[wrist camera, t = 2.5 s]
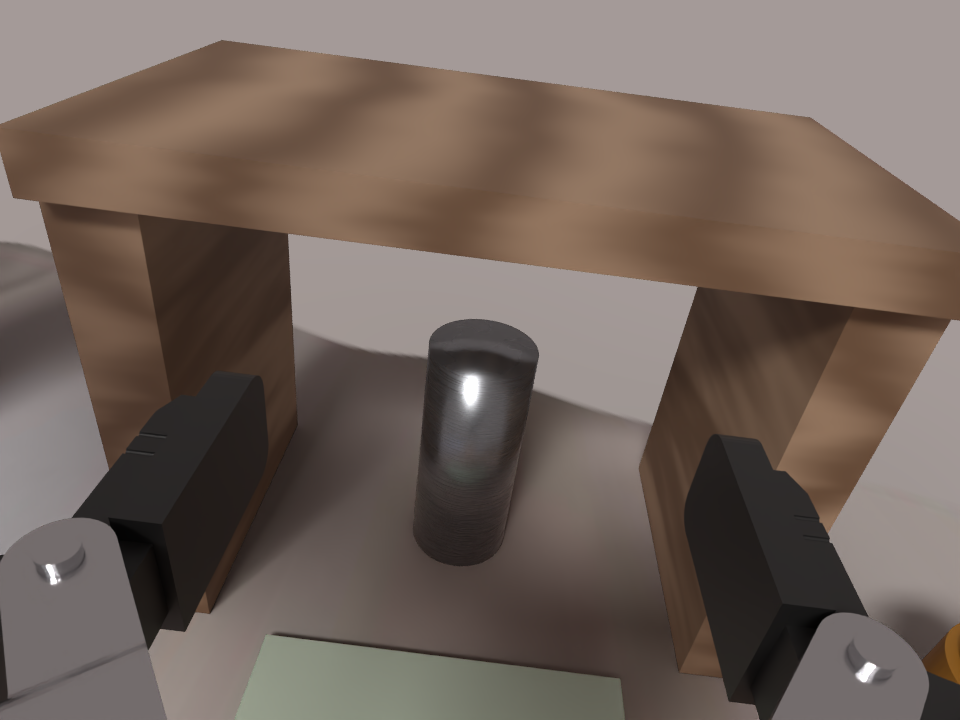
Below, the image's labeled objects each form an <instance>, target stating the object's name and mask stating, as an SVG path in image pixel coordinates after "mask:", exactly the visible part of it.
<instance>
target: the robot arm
mask: <svg viewBox="0 0 960 720" xmlns="http://www.w3.org/2000/svg"><path fill="white" fill-rule="evenodd" d="M268 447H269V443H268V430H267V418H266V407H265V395H264V385H263V381H262V378H261V377H260V376H258V375H250V374H242V373H234V372H226V371H215V372H214V373H213V374H212V375H211V376H210V377H209V379H208V380H207V382H206V383H205V384H204V386H203V387H202V388H201V390H200V391H199V393H198V394H197V395H196V396H188V395H180V396H179V397H177V398H176V399H174V400H172V401H171V402H169V403H168V404H166V405H165V406H163V407H161V408H160V409H158V410H157V411H155V413H154V414H153V415H152V416H151V418H150V419H149V420H148V421H147V423H146V424H145V425H144V427H143V428H142V429H141V430H140V432H139V436H136V437H135V438H134V439H133V441H132V442H131V443H130V444H129V446H128V447H127V448H126V452H125V454H124V453H122V455H121V456H120V457H119V458H118V460H117V461H116V462H115V463H114V465H113V466H112V467H111V469H110V470H109V471H108V472H107V474H106V475H105V476H104V477H103V479H102V480H101V481H100V482H99V484H98V485H97V486H96V488H95V489H94V490H93V491H92V493H91V494H90V495H89V496H88V498H87V499H86V500H85V502H84V503H83V504H82V505H81V507H80V508H79V509H78V510H77V512H76V513H75V514H74V516H73V517H72V518H70V519H63V520H59V521H55V522H52V523H49V524H46V525H43V526H41V527H39V528H37V529H35V530H33V531H31V532H30V533H28V534H26V535H25V536H23V537H22V538H21V539H19V540H18V541H17V542H16V543H15V544H13V545H12V546H11V547H10V548H9V550H8V551H7V552H6V553H5V555H0V720H167V718H166V715H165V711H164V707H163V704H162V700H161V696H160V693H159V689H158V685H157V682H156V678H155V674H154V671H153V667H152V663H151V660H150V656H149V652H148V650H149V648H150V646H151V645H152V643H153V641H154V639H155V637H156V635H157V633H158V632H159V630H160V629H166V630H174V631H183V632H185V631H186V629H187V627H188V625H189V623H190V621H191V619H192V617H193V615H194V613H195V611H196V609H197V607H198V605H199V603H200V601H201V599H202V597H203V595H204V593H205V591H206V589H207V587H208V585H209V583H210V581H211V579H212V577H213V575H214V573H215V571H216V569H217V567H218V565H219V563H220V561H221V559H222V557H223V555H224V552H225V550H226V548H227V546H228V544H229V542H230V540H231V538H232V536H233V534H234V532H235V530H236V528H237V526H238V524H239V522H240V520H241V518H242V516H243V514H244V512H245V510H246V508H247V506H248V504H249V502H250V500H251V498H252V496H253V494H254V492H255V490H256V488H257V486H258V484H259V482H260V480H261V478H262V476H263V473H264V470H265V467H266V462H267V457H268ZM819 519H820V517H819V515H818V513H817V511H816V509H815V507H814V505H813V503H812V501H811V499H810V497H809V495H808V493H807V492H806V491H805V490H804V489H803V488H802V487H801V486H800V485H799V484H798V483H797V482H796V481H795V480H794V479H793V478H792V477H791V476H790V475H789V474H788V473H787V472H786V471H779V470H773V468H772V466H771V464H770V461H769V459H768V457H767V455H766V452H765V450H764V448H763V446H762V444H761V442H760V441H759V440H757V439H753V438H745V437H737V436H729V435H721V434H713V435H712V436H711V437H710V438H709V440H708V442H707V444H706V447H705V449H704V452H703V455H702V457H701V460H700V462H699V465H698V468H697V470H696V473H695V476H694V478H693V481H692V484H691V486H690V489H689V492H688V494H687V498H686V502H685V508H684V527H685V532H686V536H687V540H688V544H689V548H690V552H691V556H692V560H693V564H694V567H695V571H696V575H697V579H698V583H699V587H700V591H701V595H702V599H703V603H704V606H705V610H706V614H707V618H708V622H709V626H710V630H711V634H712V638H713V642H714V646H715V649H716V653H717V657H718V661H719V665H720V669H721V673H722V677H723V681H724V685H725V688H726V692H727V696H728V700H729V702H737V703H745V704H753V705H756V708H757V712H758V715H759V719H760V720H960V684H957V683H955V682H952V681H949V680H947V679H944V678H942V677H939V676H937V675H935V674H932V673H930V672H928V671H926V669H925V667H924V665H923V663H922V661H921V660H920V658H919V657H918V655H917V654H916V652H915V651H914V650H913V649H912V648H911V646H910V645H909V644H908V643H907V642H906V641H905V640H904V639H903V638H901V637H900V636H899V635H898V634H896V633H895V632H894V631H893V630H891V629H889V628H888V627H886V626H885V625H883V624H881V623H879V622H877V621H876V620H873V619H871V618H869V617H868V615H867V613H866V611H865V609H864V607H863V605H862V603H861V601H860V599H859V597H858V595H857V592H856V590H855V588H854V586H853V584H852V582H851V580H850V578H849V576H848V574H847V572H846V570H845V568H844V566H843V564H842V562H841V560H840V558H839V556H838V554H837V552H836V550H835V548H834V546H833V544H832V543H830V542H829V539H830V538H829V536H828V534H827V532H826V530H825V527H824V525H823V523H820V522H819Z"/></svg>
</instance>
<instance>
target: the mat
mask: <svg viewBox="0 0 960 720" xmlns="http://www.w3.org/2000/svg"><path fill="white" fill-rule="evenodd" d="M234 720H625V715H624V706H623V698H622V689H621V681H620V679H619V678H611V677H603V676H595V675H587V674H579V673H571V672H563V671H555V670H547V669H539V668H531V667H523V666H515V665H507V664H499V663H491V662H483V661H475V660H467V659H459V658H451V657H443V656H435V655H427V654H419V653H411V652H403V651H395V650H387V649H379V648H371V647H363V646H355V645H347V644H339V643H331V642H323V641H315V640H307V639H299V638H291V637H283V636H275V635H267V634H266V636H265V638H264V641H263V644H262V646H261V649H260V652H259V655H258V657H257V660H256V663H255V665H254V668H253V671H252V673H251V676H250V679H249V681H248V684H247V687H246V689H245V692H244V695H243V697H242V700H241V703H240V706H239V708H238V711H237V714H236V716H235V719H234Z"/></svg>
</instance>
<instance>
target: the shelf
mask: <svg viewBox="0 0 960 720" xmlns="http://www.w3.org/2000/svg"><path fill="white" fill-rule="evenodd" d="M0 152H1V156H2V160H3V164H4V167H5V170H6V174H7V178H8V181H9V185H10V188H11V191H12V195H13V198H17V199H25V200H33V201H39V204H40V208H41V212H42V215H43V219H44V223H45V227H46V230H47V234H48V238H49V242H50V246H51V250H52V253H53V257H54V261H55V265H56V269H57V272H58V276H59V280H60V284H61V288H62V292H63V295H64V299H65V303H66V307H67V311H68V314H69V318H70V322H71V326H72V330H73V333H74V337H75V341H76V345H77V349H78V352H79V356H80V360H81V364H82V368H83V371H84V375H85V379H86V383H87V387H88V390H89V394H90V398H91V402H92V406H93V409H94V413H95V417H96V421H97V425H98V428H99V432H100V436H101V440H102V444H103V448H104V451H105V455H106V459H107V463H108V467H109V470H110V469H111V467H112V466H113V465H114V463H115V462H116V461H117V460H118V458H119V457H120V456H121V455H122V453H124V454H125V452H126V448H127V447H128V446H129V444H130V443H131V442H132V441H133V439H134V438H135V437H136V436H139V432H140V430H141V429H142V428H143V427H144V425H145V424H146V423H147V421H148V420H149V419H150V418H151V416H152V415H153V414H154V413H155V411H157V410H158V409H160V408H161V407H163V406H165V405H166V404H168V403H169V402H171V401H172V400H174V399H176V398H177V397H179V396H180V395H188V396H196V395H197V394H198V393H199V391H200V390H201V388H202V387H203V386H204V384H205V383H206V382H207V380H208V379H209V377H210V376H211V375H212V374H213V373H214V372H215V371H226V372H234V373H242V374H250V375H258V376H260V377H261V378H262V381H263V385H264V395H265V407H266V418H267V430H268V443H269V447H268V457H267V462H266V467H265V470H264V473H263V476H262V478H261V480H260V482H259V484H258V486H257V488H256V490H255V492H254V494H253V496H252V498H251V500H250V502H249V504H248V506H247V508H246V510H245V512H244V514H243V516H242V518H241V520H240V522H239V524H238V526H237V528H236V530H235V532H234V534H233V536H232V538H231V540H230V542H229V544H228V546H227V548H226V550H225V552H224V555H223V557H222V559H221V561H220V563H219V565H218V567H217V569H216V571H215V573H214V575H213V577H212V579H211V581H210V583H209V585H208V587H207V589H206V591H205V593H204V595H203V597H202V599H201V601H200V603H199V605H198V607H197V609H196V611H195V612H200V613H208V614H210V612H211V609H212V607H213V605H214V603H215V601H216V599H217V597H218V594H219V592H220V590H221V588H222V586H223V584H224V582H225V579H226V577H227V575H228V573H229V571H230V569H231V566H232V564H233V562H234V560H235V558H236V556H237V554H238V551H239V549H240V547H241V545H242V543H243V541H244V539H245V536H246V534H247V532H248V530H249V528H250V526H251V524H252V521H253V519H254V517H255V515H256V513H257V511H258V508H259V506H260V504H261V502H262V500H263V498H264V496H265V493H266V491H267V489H268V487H269V485H270V483H271V481H272V478H273V476H274V474H275V472H276V470H277V468H278V466H279V463H280V461H281V459H282V457H283V455H284V453H285V450H286V448H287V446H288V444H289V442H290V440H291V438H292V435H293V433H294V431H295V429H296V427H297V425H298V423H297V404H296V384H295V364H294V345H293V325H292V306H291V286H290V268H289V249H288V248H289V247H288V234H296V235H303V236H311V237H319V238H326V239H334V240H341V241H349V242H357V243H365V244H372V245H380V246H388V247H396V248H403V249H411V250H419V251H427V252H435V253H442V254H450V255H457V256H465V257H473V258H481V259H489V260H496V261H504V262H512V263H519V264H527V265H535V266H543V267H550V268H558V269H566V270H573V271H581V272H589V273H597V274H604V275H613V276H620V277H628V278H636V279H643V280H651V281H658V282H666V283H674V284H682V285H689V286H697V287H698V288H697V291H696V294H695V297H694V300H693V303H692V306H691V309H690V312H689V315H688V318H687V321H686V324H685V328H684V331H683V334H682V337H681V340H680V343H679V346H678V349H677V352H676V355H675V358H674V361H673V364H672V367H671V370H670V374H669V377H668V380H667V383H666V386H665V389H664V392H663V395H662V398H661V402H660V404H659V407H658V410H657V414H656V417H655V420H654V423H653V426H652V429H651V432H650V435H649V438H648V441H647V444H646V447H645V450H644V453H643V457H642V460H641V463H640V466H639V472H640V477H641V482H642V487H643V492H644V497H645V502H646V507H647V512H648V517H649V522H650V527H651V532H652V538H653V543H654V548H655V553H656V558H657V563H658V568H659V573H660V578H661V583H662V588H663V593H664V598H665V603H666V608H667V613H668V618H669V624H670V629H671V634H672V639H673V644H674V649H675V654H676V659H677V664H678V669H679V673H687V674H695V675H703V676H711V677H719V678H723V677H722V673H721V669H720V665H719V661H718V657H717V653H716V649H715V646H714V642H713V638H712V634H711V630H710V626H709V622H708V618H707V614H706V610H705V606H704V603H703V599H702V595H701V591H700V587H699V583H698V579H697V575H696V571H695V567H694V564H693V560H692V556H691V552H690V548H689V544H688V540H687V536H686V532H685V527H684V508H685V502H686V498H687V494H688V492H689V489H690V486H691V484H692V481H693V478H694V476H695V473H696V470H697V468H698V465H699V462H700V460H701V457H702V455H703V452H704V449H705V447H706V444H707V442H708V440H709V438H710V437H711V436H712V435H713V434H721V435H729V436H737V437H745V438H753V439H757V440H759V441H760V442H761V444H762V446H763V448H764V450H765V452H766V455H767V457H768V459H769V461H770V464H771V466H772V468H773V470H779V471H786V472H787V473H788V474H789V475H790V476H791V477H792V478H793V479H794V480H795V481H796V482H797V483H798V484H799V485H800V486H801V487H802V488H803V489H804V490H805V491H806V492H807V493H808V495H809V497H810V499H811V501H812V503H813V505H814V507H815V509H816V511H817V513H818V515H819V517H820V519H819V522H820V523H823V525H824V527H825V530H826V532H827V534H828V532H829V530H830V529H831V527H832V525H833V523H834V522H835V520H836V518H837V516H838V515H839V513H840V511H841V510H842V508H843V506H844V504H845V503H846V501H847V499H848V497H849V496H850V494H851V492H852V490H853V489H854V487H855V485H856V484H857V482H858V480H859V478H860V477H861V475H862V473H863V471H864V470H865V468H866V466H867V464H868V463H869V461H870V459H871V458H872V456H873V454H874V452H875V451H876V449H877V447H878V445H879V443H880V442H881V440H882V438H883V437H884V435H885V433H886V432H887V430H888V428H889V426H890V425H891V423H892V421H893V419H894V417H895V416H896V414H897V412H898V411H899V409H900V407H901V405H902V404H903V402H904V400H905V399H906V397H907V395H908V393H909V392H910V390H911V388H912V387H913V385H914V383H915V381H916V379H917V377H918V376H919V374H920V372H921V371H922V369H923V367H924V366H925V364H926V362H927V361H928V359H929V357H930V355H931V354H932V352H933V350H934V348H935V347H936V345H937V343H938V341H939V340H940V338H941V336H942V335H943V333H944V331H945V329H946V328H947V326H948V324H949V322H950V320H951V319H952V320H960V221H958V220H957V219H955V218H954V217H953V216H951V215H950V214H948V213H947V212H946V211H944V210H943V209H941V208H940V207H938V206H937V205H936V204H934V203H933V202H931V201H930V200H928V199H927V198H926V197H924V196H923V195H921V194H920V193H918V192H917V191H915V190H914V189H913V188H911V187H910V186H908V185H907V184H905V183H904V182H903V181H901V180H900V179H898V178H897V177H895V176H894V175H892V174H891V173H890V172H888V171H887V170H885V169H884V168H882V167H881V166H879V165H878V164H877V163H875V162H874V161H872V160H871V159H869V158H868V157H867V156H865V155H864V154H862V153H861V152H859V151H858V150H856V149H855V148H854V147H852V146H851V145H849V144H848V143H846V142H845V141H843V140H842V139H841V138H839V137H838V136H836V135H835V134H833V133H832V132H830V131H829V130H828V129H826V128H825V127H823V126H822V125H820V124H819V123H818V122H816V121H815V120H813V119H812V118H810V117H802V116H794V115H787V114H779V113H772V112H764V111H756V110H748V109H741V108H734V107H725V106H718V105H711V104H702V103H696V102H688V101H680V100H673V99H664V98H657V97H650V96H642V95H634V94H627V93H620V92H612V91H604V90H597V89H596V90H595V89H589V88H581V87H574V86H566V85H559V84H551V83H543V82H536V81H528V80H520V79H513V78H505V77H498V76H490V75H482V74H475V73H467V72H459V71H452V70H444V69H437V68H429V67H421V66H414V65H407V64H399V63H391V62H383V61H376V60H369V59H360V58H353V57H346V56H338V55H330V54H323V53H314V52H308V51H300V50H291V49H285V48H277V47H269V46H262V45H254V44H247V43H239V42H232V41H224V40H221V41H218V42H216V43H213V44H211V45H208V46H205V47H203V48H200V49H198V50H195V51H192V52H189V53H187V54H184V55H181V56H179V57H176V58H174V59H171V60H168V61H166V62H163V63H160V64H158V65H155V66H152V67H150V68H147V69H145V70H142V71H139V72H137V73H134V74H131V75H129V76H126V77H123V78H121V79H118V80H115V81H113V82H110V83H108V84H105V85H102V86H100V87H97V88H95V89H92V90H89V91H86V92H84V93H81V94H79V95H76V96H73V97H71V98H68V99H66V100H63V101H60V102H57V103H55V104H52V105H50V106H47V107H44V108H42V109H39V110H36V111H34V112H31V113H28V114H26V115H23V116H20V117H18V118H15V119H12V120H10V121H7V122H5V123H2V124H0Z"/></svg>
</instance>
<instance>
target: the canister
mask: <svg viewBox="0 0 960 720" xmlns="http://www.w3.org/2000/svg"><path fill="white" fill-rule="evenodd" d="M538 358H539V352H538V349H537V346H536V345H535V343H534V342H533V341H532V340H531V338H529V337H528V336H527V335H526V334H524V333H523V332H521V331H520V330H518V329H516V328H514V327H512V326H509V325H506V324H503V323H500V322H495V321H490V320H482V319H467V320H459V321H454V322H451V323H448V324H445V325H443V326H441V327H440V328H438V329H437V330H436V331H435V332H434V333H433V334H432V336H431V338H430V341H429V351H428V363H427V374H426V386H425V397H424V409H423V420H422V432H421V443H420V455H419V466H418V478H417V489H416V501H415V513H414V524H413V533H414V537H415V540H416V542H417V544H418V545H419V547H420V548H421V549H422V550H423V551H424V552H425V553H426V554H427V555H428V556H430V557H431V558H433V559H435V560H437V561H439V562H441V563H444V564H448V565H453V566H470V565H475V564H479V563H481V562H484V561H486V560H487V559H489V558H490V557H492V556H493V555H494V554H495V553H496V552H497V551H498V549H499V548H500V546H501V544H502V541H503V536H504V531H505V526H506V521H507V516H508V511H509V506H510V501H511V496H512V490H513V485H514V480H515V475H516V470H517V465H518V460H519V455H520V450H521V445H522V440H523V435H524V429H525V424H526V419H527V414H528V409H529V404H530V399H531V394H532V389H533V384H534V379H535V373H536V368H537V362H538Z"/></svg>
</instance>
